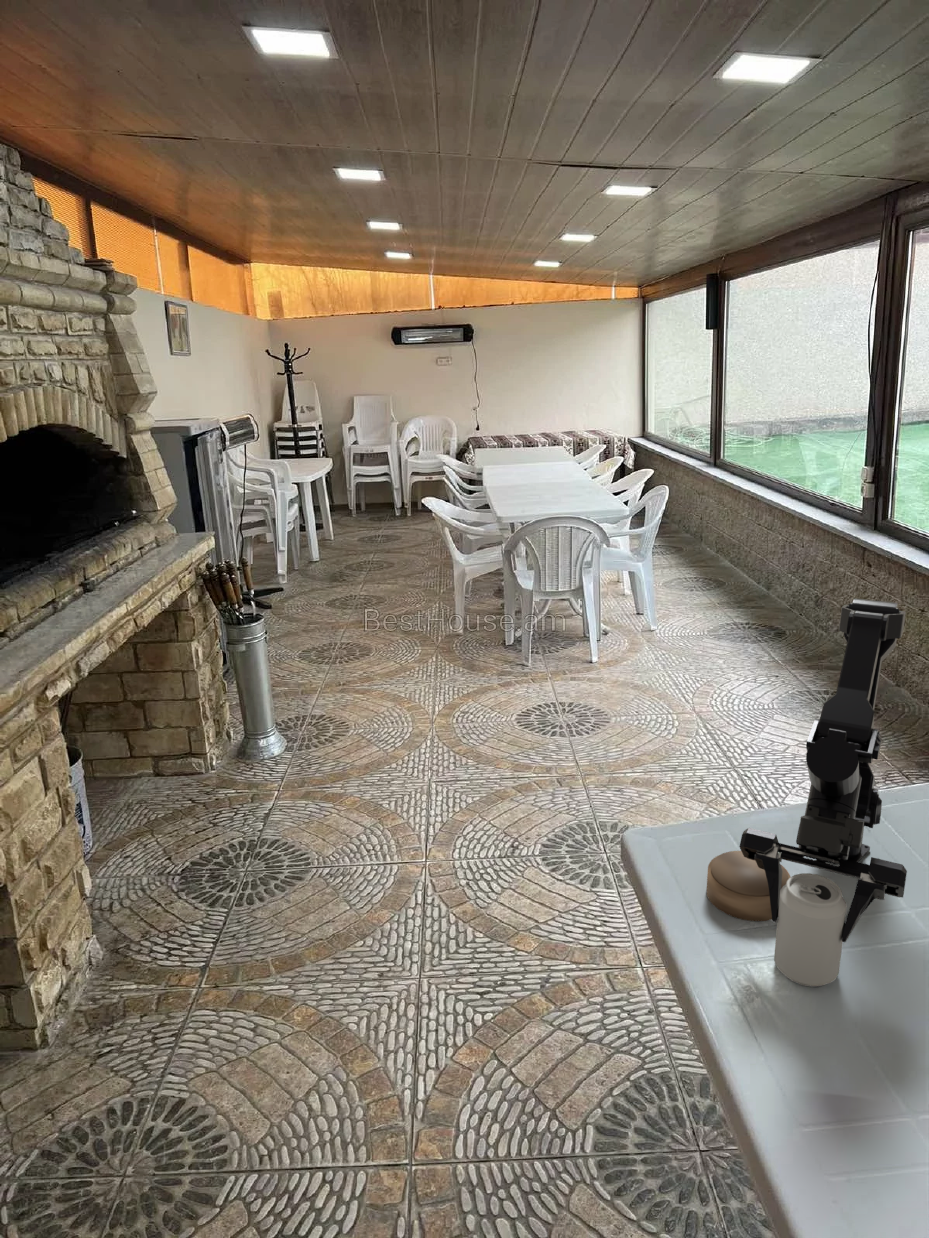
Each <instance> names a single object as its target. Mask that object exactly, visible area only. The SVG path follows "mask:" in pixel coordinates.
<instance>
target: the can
mask: <svg viewBox="0 0 929 1238" xmlns="http://www.w3.org/2000/svg"><path fill="white" fill-rule="evenodd" d="M847 906H848V905H847V901H846V899H845V898H844V896H843V890H842V889H841V888H840V886H839V885H838V884H837V883H836V882H835V881H833V880H831V879H830V878H828V877H826V876H822V875H820V874H815V873H810V872H808V873H805V872H804V873H802V872H801V873H799V874H798V873H796V874H794V875H792V876H790V878H789V879H788V880H787V882H786V885H784V886H783V887H782V889H781V890H780V899H779V909H778V918H777V921H776V932H775V943H774V944H775V945H774V954H773V956H774V957H773V961H774V964H775V966H776V968H777V969H778V970H779V971H780V973H782V974H783V975H784V976H785V977H786V978H787V979H789V980H791V982H794V983H796V984H798V985H801V986H805V987H810V988H811V987H813V988H814V987H822V986H825V985H828V984H831V983H832V982H834V981H835V980H836V979H837V977H838V976H839V975H840V967H841V958H842V950H843V943H844V942H842V935H843V929H844V925H845V922H846V919H847V909H848V907H847Z"/></svg>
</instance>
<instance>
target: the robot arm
mask: <svg viewBox="0 0 929 1238" xmlns="http://www.w3.org/2000/svg"><path fill="white" fill-rule="evenodd" d="M906 614H907V613H906V610H900V609H899V604H898V602H893V601H881V600H872V599H865V598H853V599H852V602H851V603H848V604H844V605H842V607H841V611H840V618H839V625H838V631H839V632H842V633H843V637H844V639H845V642H846V647H845V651H844V656H843V661H842V665H841V669H840V674H839V679H838V683H837V688H836V690H835V691H836V692H835V694H834V695H832V696H830V698H828V699H827V700H826V701H825V702H824V703H823V704H822V709H821V712H820V716H819V718H815V719H814V721H813V724H812V726H811V729H810V731H809V735H808V737H807V740H806V745H805V746H806V747H805V748H806V751H807V752H806V757H805V760H806V761H805V762H806V767H807V770H808V777H809V781H810V788H809V793H808V795H807V803H806V807H805V812H804V815H802V816H801V817H800V822H799V825H798V830H797V836H796V840H795V843H796V845H798V846H792V845H789V844H785V843H780V842H779V839H778V836H777V834H776V833H772V832H768V831H763V830H759V829H756V828H751V827H748V828H746V829H745V830H743V831H742V833H741V837H740V842H739V846H738V847H739V849H740V851H742V853H743V855H744V857H746V858H748V859H751V860H755V861H756V863H757V865H758V867H759V868H761V869H764V870H765V873H766V877H767V882H768V887H769V896H770V905H771V914H772V923H776V924H777V920H778V918H777V917H778V909H779V899H780V890H781V884H782V873H783V870H782V867H781V865H782V864H781V863H782V862H783V861H787V862H792V863H795V864H800V865H804V866H806V867H807V866H808V867H812V868H816V869H819V870H823V871H827V872H832V873H836V874H840V875H844V876H848V877H850V878H854V879H855V878H856V879H857V882H856V886H855V889H854V892H853V893H854V894H853V897H852V901H851V903H850V907H849V910H848V913H847V914H846V918H845V925H844V929H843V935H842V942H843V943H846V942H847V941H848V940H849V937H850V935H851V933H852V932H853V930H854V929H855V927H856V926H857V923H859V920H860V918H861V917H862V916H863V915H864V913H865V912H866V910H868V908H869V906H870V905H871V904H872V903H873V902H874V901H875V900H880V901H884V900H885V896H886V895H887V896H892V897H896V898H904V893H905V887H906V880H907V873H908V870H907V869H906V868H905V866H904V864H902V863H898V862H892V861H889V860H885V859H882V858H876V857H871V858H870V862H869V864H866V863H863V862H860V861H861V860H862V859H863V858H864V857H865V856H866V855H867V854H868V853H869V852H870V850H871V846H869V845H868V844H865V843H863V839H864V829H865V827H868V828H869V829H874V825H875V826H876V825H879V824H880V823H881V816H882V806H883V804H882V803H883V801H882V799H881V797H880V793H879V789H878V788H875V783H876V777H875V776H874V775H875V774H874V773H873V770H872V767H871V764H872V762H873V760H878V759H879V756H880V752H881V748H882V743H883V739H882V737H881V735H880V734H881V733H880V731H879V729H877V728H875V706H876V701H877V700H876V699H877V694H878V687H879V681H880V674H881V670H882V669H881V668H882V663H883V661H885V659H886V658H887V657H888V656H889V654H891V652H893V650H894V649H895V648H896V645H897V640H898V639H901V638H902V636H903V632H904V629H905V621H906ZM782 860H783V861H782ZM780 864H781V865H780ZM837 864H838V865H837Z"/></svg>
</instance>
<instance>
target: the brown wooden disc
mask: <svg viewBox="0 0 929 1238" xmlns="http://www.w3.org/2000/svg"><path fill="white" fill-rule="evenodd" d="M780 865H781V867H782V870H783V873H782V884H781V889H782V887H783V886H784V885H786V882H787V880H788V879H789V878H790V877H791V875H790V873H789V871H788V870H787V869H786V867H784V866H783V864H781V863H780ZM706 877H707V879H706V895H707V898H708V900H709V902H710V903H711V904H712V905H713V906H714V907H715V908H716V909H717V910H719V911H720V912H722V913H724V914H726V915H727V916H730V917H732V918H736V919H738V920H742V921H748V922H766V921H771V920H772V914H771V905H770V896H769V887H768V882H767V877H766V873H765V870H764V869H761V868H759V867H758V865H757V863H756V861H755V860H751V859H748V858H746V857H744V855H743V853H742V851H741V850H733V851H732V850H730V851H727V852H723V853H721V854H719V855H717V856H715V857H713V858H712V859H711V860H710V861H709V863H708V865H707V876H706ZM777 919H778V917H777Z"/></svg>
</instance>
